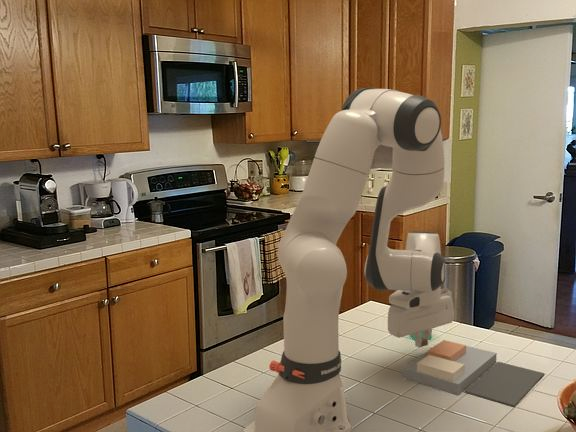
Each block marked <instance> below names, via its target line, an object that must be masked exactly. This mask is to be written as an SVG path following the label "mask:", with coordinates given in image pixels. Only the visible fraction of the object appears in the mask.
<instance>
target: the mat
mask: <svg viewBox="0 0 576 432" xmlns="http://www.w3.org/2000/svg"><path fill="white" fill-rule="evenodd" d="M544 376H545V373H544V372H541V371H536V370H533V369H530V368H529V369H528V368H525V367H521V366H517V365H513V364H509V363H506V362H505V363H504V362H502V361H496V363H495V364H494V365H493V366H492V367H491V368H489V369H488V370H487V371H486V372H485V373H484V374H482V375H481V376H480V377H479V378H478V379H476V380H475V381H474V382H473V383H472V384H471V385H469V386H468V387H467V388H466V389H465V390H464V391H463V392H464V393H465V394H469V395H472V396H475V397H478V398H482V399H486V400H489V401H492V402H495V403H498V404H502V405H506V406H509V407H512V408H515V407H516V406H517V405H518V404H519V403H520V402H521V401H522V400H523V398H524V397H525V396H526V395H528V393H529V392H530V391H531V390H532V389H533V387H534V386H536V384H537V383H538V382H540V380H541V379H542V378H543V377H544Z"/></svg>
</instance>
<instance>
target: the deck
mask: <svg viewBox="0 0 576 432" xmlns="http://www.w3.org/2000/svg"><path fill="white" fill-rule="evenodd" d="M497 355H498V353H497V352H493V351H489V350H486V349H481V348H477V347H473V346H469V345H466V353H465V354H464V355H463V356H461V357H460V358H459V359H457V360H456V361H454V362H458V363H461V364H465V373H463V374H462V375H461V376H460V377H458V378H457V379H456V380H455V381H449V380H446V379H442V378H439V377H435V376H432V375H428V374H425V373H422V372H418V371H417V363H418V362H419V361H421V360H422V359H424V358H425V357H427V351H425V353H423V354H421V355H420V356H419V357H417V358H415V359H414V360H412V361H411V362H409V363H408V364H406V365H404V366H403V367H402V371H401V372H402V373H401V374H402V375H401V377H402V379H404V378H405V379H404V380H408V381H411V382H414V381H415V383H418V384H421V385H424V386H427V385H428V386H427V387H431V388H435V389H437V390H441V391H444V392H448V393H451V394H454V395H457V396H459V395H460V394H462V393H463V392H464V390H466V389H467V388H468V387H469V386H470V385H472V384H473V383H474V382H475V381H476V380H477V379H479V378H480V377H481V376H482V375H483V374H484V373H486V372H487V371H488V370H489V369H490V368H491V367H493V366H494V365H495V364H496V363H497Z"/></svg>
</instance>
